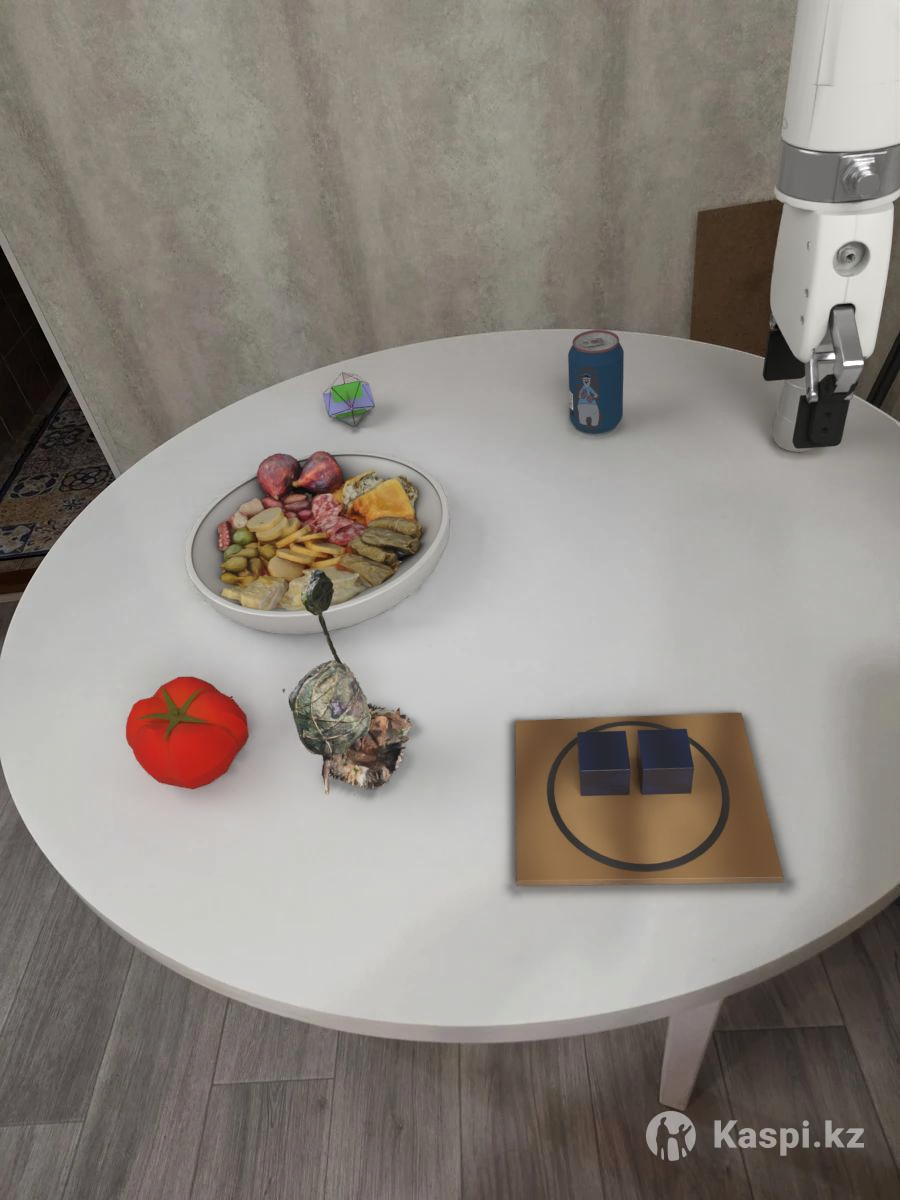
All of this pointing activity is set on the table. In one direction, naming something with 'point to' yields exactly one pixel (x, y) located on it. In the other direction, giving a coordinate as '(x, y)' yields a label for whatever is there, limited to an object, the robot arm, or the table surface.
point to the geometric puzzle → (349, 397)
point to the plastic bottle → (794, 405)
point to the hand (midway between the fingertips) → (798, 409)
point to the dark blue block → (603, 763)
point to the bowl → (318, 539)
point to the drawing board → (641, 810)
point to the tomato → (186, 733)
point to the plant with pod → (344, 712)
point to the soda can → (596, 382)
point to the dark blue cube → (664, 761)
